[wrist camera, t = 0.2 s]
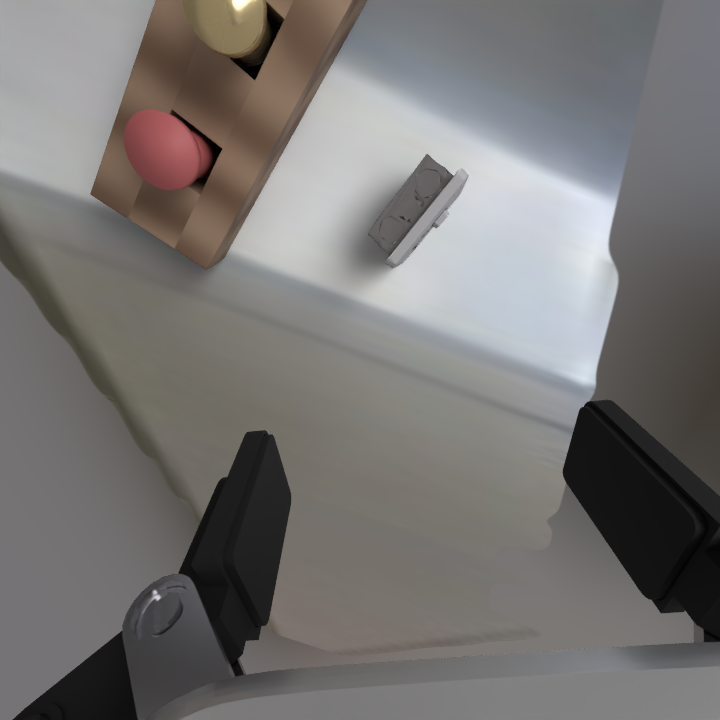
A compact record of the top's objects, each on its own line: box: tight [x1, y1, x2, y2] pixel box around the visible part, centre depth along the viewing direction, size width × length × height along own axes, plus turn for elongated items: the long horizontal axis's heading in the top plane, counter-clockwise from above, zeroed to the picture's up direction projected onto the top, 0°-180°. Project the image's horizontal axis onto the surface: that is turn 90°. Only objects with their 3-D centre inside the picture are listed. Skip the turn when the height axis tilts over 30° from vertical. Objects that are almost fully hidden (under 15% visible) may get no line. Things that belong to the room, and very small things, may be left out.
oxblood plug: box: [124, 109, 216, 190], centre depth 27 cm, size 5×5×6 cm
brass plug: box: [181, 0, 273, 65], centre depth 23 cm, size 5×5×6 cm
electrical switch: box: [368, 154, 469, 268], centre depth 32 cm, size 9×5×9 cm, turn 142°
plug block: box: [91, 0, 367, 269], centre depth 29 cm, size 26×11×5 cm, turn 143°
